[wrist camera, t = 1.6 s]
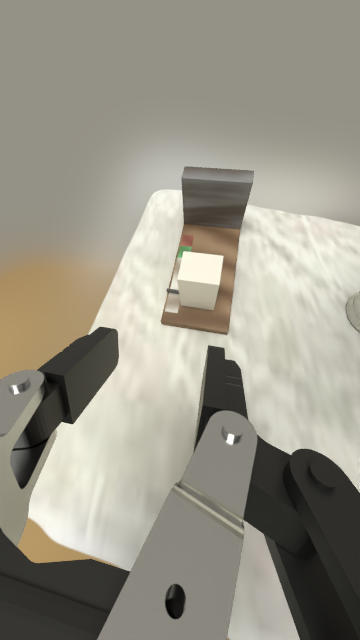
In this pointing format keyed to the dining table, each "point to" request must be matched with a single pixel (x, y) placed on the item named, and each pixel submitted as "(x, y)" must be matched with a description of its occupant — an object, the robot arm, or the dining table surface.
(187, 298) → the block
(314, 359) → the dining table surface
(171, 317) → the base
